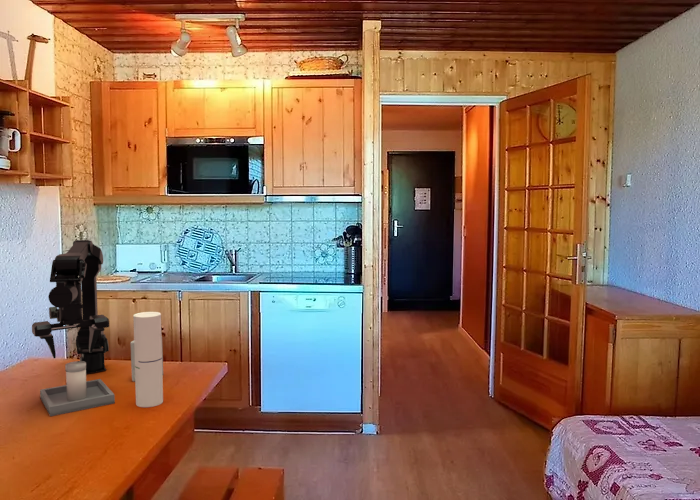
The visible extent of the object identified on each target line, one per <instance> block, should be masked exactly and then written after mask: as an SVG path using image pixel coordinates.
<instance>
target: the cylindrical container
mask: <svg viewBox="0 0 700 500" xmlns="http://www.w3.org/2000/svg"><path fill="white" fill-rule="evenodd" d="M132 319H133V341H134V353H135V381H134V383H135V387H134V388H135V405H136V406H137V407H139V408H152V407H156V406H160V405H162V404H163V403H164V389H163V388H164V385H163V384H164V383H163V379H164V378H163V375H162V351H163V337H162V313H161V312H159V311H142V312H138V313H134V314H133V318H132Z"/></svg>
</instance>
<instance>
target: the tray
mask: <svg viewBox="0 0 700 500" xmlns="http://www.w3.org/2000/svg"><path fill="white" fill-rule="evenodd" d="M86 386H87V397H86V398H85V399H82V400H77V401H68V400H67V385H66V384H64V385H58V386H53V387H46V388H42V389H39V395H40V396H39V397H40V398H39V399H40V400H41V402H42V404H43V406H44V407H45V410H46V411H47V413H48V415H49V417H54V416H60V415H65V414H69V413H74V412H79V411H84V410H88V409H94V408H98V407H102V406H109V405H113V404H115V402H116V401H115V397H116V396H115V393H114V392H113V391H112V390H111V389H110V388H109V386H107V384H106V383H105V382H104V381H103V380H102V379H101V378H99V379H92V380H86Z"/></svg>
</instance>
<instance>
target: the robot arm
mask: <svg viewBox="0 0 700 500" xmlns="http://www.w3.org/2000/svg"><path fill="white" fill-rule="evenodd" d="M72 242H73V243H72V245H71V247H70V248H69V249H68V251H67V252H66V253H59V254H57V255H55V257H54V259H53V260H52V263H51V270H50V277H49V283H55V284H56V285H55V287H53V288H52V289H50V291H49V293H48V301H49V303H50V304H51V305H52V306H50V307H49V308H48V314H49V315H48V316H49V319H50V320H52V319H56V323H50V322H49V320H46V321H45V320H44V321H36V322H33V323H32V324H31V333H32V334H33V336H34V337H37V338H38V337H39V339H40V340H44V341H45V342H46V344H47V346H48V348H49V350H50V353H51V356H52V358H53V359H56V357H57V356H56V355H57V354H56V347H55V346H56V345H55V341H54V335H53V334H52V332H53V331H60V330H69V329H76V328H77V329H78V328H79V329H78V331H77V335H76V337H75V338H76V339H75V346H76V354H77V355H81V356H80V357H79V361H84V362H86V375H88V374H94V373H100V372H105V371H107V368H105V353H106V352H109V351H110V349H109V348H110V346H109V340H108V338H107V336H106V333H105V332H104V331H105V330H106V328H110V320H109V318H108V317H107V316H105V314H98V311H99V310H98V286H97V284H98V283H97V280H98V279H97V277H98V275H99V274H100V271H102V265H103V263H104V253H103V252H102V248H100V247H99V246H97V245H95V244H94V243H93V241H92V240H90V239H76V240H74V241H72Z"/></svg>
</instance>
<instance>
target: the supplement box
mask: <svg viewBox="0 0 700 500" xmlns="http://www.w3.org/2000/svg"><path fill="white" fill-rule="evenodd" d="M129 343H130V345H129V346H130V362H131V365H130V366H131V381H132V382H135V353H134V340H132V341H130V342H129ZM163 351H164V350H162V376H164V356H163V355H164V354H163Z"/></svg>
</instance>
